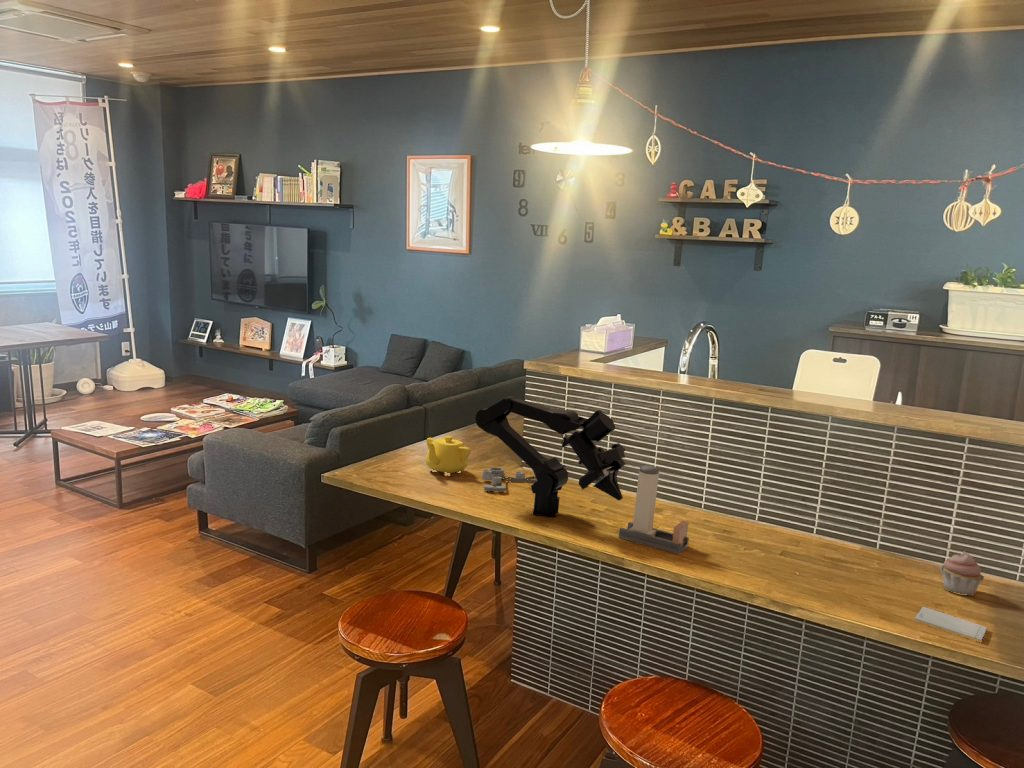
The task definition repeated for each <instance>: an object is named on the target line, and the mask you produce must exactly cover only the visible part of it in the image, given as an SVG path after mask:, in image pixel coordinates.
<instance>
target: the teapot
mask: <svg viewBox="0 0 1024 768" xmlns="http://www.w3.org/2000/svg"><path fill="white" fill-rule="evenodd" d="M426 446H427V448H428V451H427V453H426V456H425V463H426V465H427V467H428V468H429V469H433V470H436V471H437V472H441V473H444V472H447V473H451V474H452V473H455V472H459V471H462V472H463V470H465V469H466V468H467V467H468V464H469V456H470V454H471V449H470V447H467V446H465V445H464V442H462V441H461V440H459V439H454V438H453V436H451V435H445V436H444V437H443V438H438V439H435V438H432V437H427V439H426Z"/></svg>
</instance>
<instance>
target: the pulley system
mask: <svg viewBox="0 0 1024 768" xmlns="http://www.w3.org/2000/svg"><path fill="white" fill-rule="evenodd" d="M514 474H515V477H512V476H506V474H505V468H501V467H489V468H488V469H483V470H482V474H481V480H484V481H490V480H492V481H491V484H492V485H491V484H486V485H485V484H484V485H483V490H484V491H485V492H487V491H488V492H490V491H491V492H500V493H501V492H503V493H504V492H506V489H507V484H505V485H502V481H501V479H503V478H504V479H505V482H506V481H514V482H513V483H525V482H530V483H531V484H534V483H535V482H537V479H536V477H535V474H533V476H532V475H531V476H529V477H526V472H523V471H516V472H515V473H514ZM505 477H508V478H511V479H507V478H505ZM531 478H532V479H531ZM527 479H528V480H527ZM530 483H529V484H530Z"/></svg>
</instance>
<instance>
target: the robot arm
mask: <svg viewBox="0 0 1024 768" xmlns="http://www.w3.org/2000/svg"><path fill="white" fill-rule="evenodd" d="M512 413H513V414H515V415H519V416H522V417H523V418H524V417H525V418H528V419H529V420H534V421H537V422H539V423H542V424H544V425H546V426H547V427H548V428H549V429H550V430H551V431H554V432H555V433H557V434H560V435H565V436H563V437H562V443H561V447H562V448H566V447H569V446H570V447H571V450H573V452H574V453H575V454H576V457H578V459H579V460H578V461H577V463H578V464H579V465H583V466H584V467H585V469H586V470H587V471H588V472H587V473H585V474H584V475H582V476H581V477H580V478H578V485H579V487H580V488H581V489H582V490H586V489H587V488H588V487H589V486H590V485H591V484H592V483H594V482H595V484H594V485H593V486H592V487H593V488H595V489H598V490H599V491H602V492H603V493H605V494H607V495H609V496H610V497H612V498H613V499H615V500H617V501H619V502H620V501H621V500H622V499H624V498H623V495H622V492H621V489H620V485H619V482H618V480H617V478H618V473H619V470H620V469H622V468H624V466H626V462H625V461H624V460H623V459H625V458H626V454H625V452H626V448H625V447H624V446H623V445H622V444H621V443H620V442H617V443H614V444H612V445H611V448H610V449H609V448H608V449H604V448H603V447H601V446H599V447H598V446H597V445H596V443H594V441H595V442H597V443H598V442H601V441H602V440H603V439H605V438H606V437H607V436H608V435H610V434H611V433H612V432H614V430H616V425H615V422H614V421H613V419H612V418H611V417H610V416H608V415H607V414H606V413H604V412H603V411H602V410H601V409H597V410H596V411H594V412H593V413H592V415H591V416H590V417H588V418H586V417H583V416H580V415H579V414H578V413H577V412H576V411H574V410H568V409H555V408H554V409H553V408H549V407H546V406H543V405H539V404H537V403H533V402H530V401H527V400H524V399H521V398H518V397H517V396H514V395H513V396H512V395H511V396H507V397H503V398H502V399H501V400H500V401H498V402H496V403H495V404H492V405H491V406H489V407H486V408H483V409H480V410H478V411H477V412H476V414H475V417H474V418H475V424H476V426H477V427H478V428H479V429H481V430H482V431H484V432H485V433H487V434H490V435H491V436H495V437H497V438H498V439H500V440H501V442H503V444H505V445H506V446H507V447H508V448H509V449H510V450H511V451H512V452H513V453H514V454H515V455H516V456H518V458H520V460H522V461H523V463H525V464H526V465H527V466H528V467H530V468H531V470H532V471H533V475H535V477H536V479H537V482H535V483H532V484H531V486H530V487H531V488H530V489H531V491H532V492H531V493H532V494H534V503H533V509H532V515H535V516H542V517H550V518H556V517H557V514H558V513H559V509H560V508H559V507H560V498H561V497H560V496H558V495H559V491H561V490H562V488H563V487H564V486H565V485H566V484H567V483H568V481H569V472H568V470H567V469H566V465H565V464H562V463H561V462H560V461H559V460H558V458H557V457H555V456H554V457H551V458H549V459H548V458H546V457H544V456H543V455H542V454H541V453H540V452H539V451H538V450H537V449H536V448H535V447H534V446H532V445H531V444H530V443H529V442H528V441H527V440H526V439H525V438H524V437H523V436H521V434H519V433H518V432H517V430H516V429H514V428H513V427H512V426H511V425H510V422H509V420H508V416H509V415H510V414H512ZM580 429H582V430H580ZM578 430H579V431H578ZM572 432H573V433H572ZM569 433H571V434H570V435H568V436H567V435H566V434H569ZM536 479H535V480H536Z"/></svg>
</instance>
